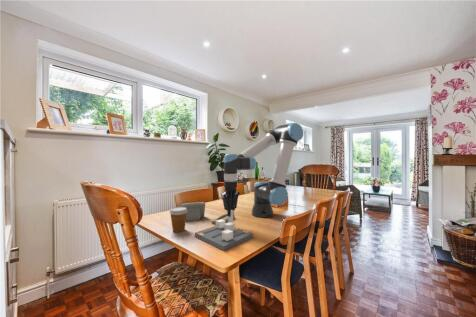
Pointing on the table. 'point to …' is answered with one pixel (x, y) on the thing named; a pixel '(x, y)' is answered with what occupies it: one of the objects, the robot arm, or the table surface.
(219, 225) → the tab
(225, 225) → the tab
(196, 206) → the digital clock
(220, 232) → the switch bank
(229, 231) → the tab
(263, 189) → the robot arm
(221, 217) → the olive shallow tray
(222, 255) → the table surface
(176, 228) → the disposable coffee cup
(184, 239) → the table surface
